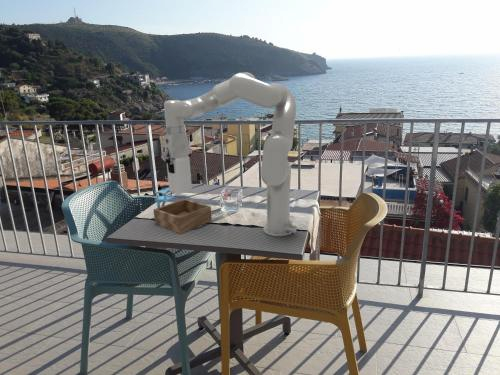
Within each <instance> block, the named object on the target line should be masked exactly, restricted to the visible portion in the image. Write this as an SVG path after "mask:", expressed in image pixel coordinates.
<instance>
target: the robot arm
mask: <svg viewBox="0 0 500 375" xmlns="http://www.w3.org/2000/svg"><path fill="white" fill-rule="evenodd" d="M239 100H244V101H246V102H249V103H251V104H253V105H256V106H259V107H260V108H264V109H273V110H274V112H273V117H272V118H273V119H272V124H271V125H272V127H271V133H270V135H269V136H268V137H266V140H265V141H264V144H263V149H262V155H261V156H262V158H261V165H260V167H261V168H260V177H261V180H262V182H263V183H264V184H265V186H266V225H264V226H263V232H264V234H266V235H269V236H272V237H285V236H290V235H291V234H293V233H297V229H298V226H297V225H293V221H292V220H291V207H290V206H291V177H292V176H291V175H292V167H291V163H290V161H289V160H288V156H289V152H290V151H291V150H292V147H293V144H294V143H293V142H294V135H295V134H294V133H295V123H296V117H297V116H296V114H297V113H296V112H297V106H296V105H297V104H296V100H295V97H294V94H293V93H292V92H291V91H290V90H289V89H288V87H287V86H285V85H283V84H282V83H277V82H272V83H267V82H264V81H262V80H259V79H257V78H256V77H255V76H254V74H252V73H251V72H237V73H235V74H233V75H232V76H231V77H230V78H228V79H227V80H225V81H223V82H220V83H218V84H216V85H214V86H213V88H212V89H211V90H210V91H208V92H206V93H204V94H202V95H200V96H197V97H195V98H194V97H193V98H190V99H185V100H180V99H168V100H166V101H164V103H163V108H164V110H163V111H164V118H165V128H164V133H166V134H165V138H164V139H165V140H164V152H163V153H162V154H161V156H160V158H161V159H162V160H163V161H164V162H165V163H166V165H167V164H168V171H169V173H174V164H172V163H173V160H174V158H179V157H183V156H186V155H188V156H189V159H190V158H191V156H192V153H193V148H191V147H190V142H189V139H188V134H187V132H186V131H185V120H191V119H194V118H198V117H200V116H203V115H205V114H208V113H210V112H212V111H215V110H217V109H218V108H223V107H224V106H228V105H230V104H232V103H234V102H236V101H239ZM167 157H168V158H167ZM170 159H171V160H170ZM168 171H167V172H168Z"/></svg>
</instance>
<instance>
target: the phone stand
mask: <svg viewBox="0 0 500 375" xmlns="http://www.w3.org/2000/svg"><path fill="white" fill-rule="evenodd" d="M154 193H155V196H156V198H154V201H155V202H156V206H157V207H156V208H159V207H162V206H165V205H166V203H168V202H169V201H170V200H173V199H175V196H174V195H173V194H172V193H173V192H171V191H169V187H164V188H161V189H159V190H158V191H155V192H154ZM169 193H170V194H169ZM158 194H161V196H159V195H158ZM168 194H169V195H168Z"/></svg>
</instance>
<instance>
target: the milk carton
mask: <svg viewBox="0 0 500 375" xmlns="http://www.w3.org/2000/svg"><path fill="white" fill-rule="evenodd" d="M166 158H168V157H166ZM170 160H171V159H170ZM172 164H174V173H169V171H168V164H167V163H166V170H167V171H166V172H167V180H168V181H167V182H168V188H169V191H171V192H172V193H175V194H177V195H180V194H184V193H187V192H188V193H189V192H191V191H193V187H192V186H193V185H192V172H191V162H190V158H189V156H188V155H186V156H183V157H179V158H174V160H173V163H172ZM171 192H170V193H171Z"/></svg>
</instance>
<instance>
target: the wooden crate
mask: <svg viewBox="0 0 500 375" xmlns="http://www.w3.org/2000/svg"><path fill="white" fill-rule="evenodd" d="M161 206H162V205H161ZM161 206H160V207H159V208H157V207H156V208H154V209H153V215H154V216H153V218H154V224H155V225H156V226H160V227H162V228H164V229H168V230H169V231H173V232H175V233H179V234H181V235H182V234H183V233H184V234H185V233H186V232H188V231H191V230H194V229H195V228H199V227H200V226H204V225H205V224H207V223H210V222H212V221H213V219H212V218H213V217H212V206H211V205H208V204H205V203H201V202H197V201H194V200H190V199H186V198H182V199H180V200H176V201H174V202H172V203H168V204H165V205H164V206H162V207H161Z"/></svg>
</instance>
